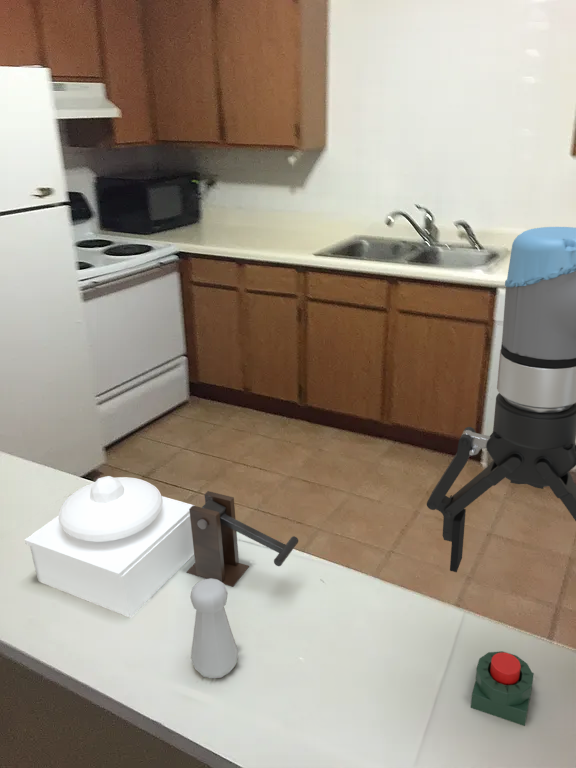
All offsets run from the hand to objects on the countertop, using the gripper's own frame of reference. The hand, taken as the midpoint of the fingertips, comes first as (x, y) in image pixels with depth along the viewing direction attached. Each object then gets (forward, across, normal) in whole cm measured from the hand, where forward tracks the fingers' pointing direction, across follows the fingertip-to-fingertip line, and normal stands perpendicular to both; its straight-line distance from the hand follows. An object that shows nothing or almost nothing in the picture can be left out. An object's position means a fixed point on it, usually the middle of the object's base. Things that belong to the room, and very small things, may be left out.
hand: (516, 579), depth 71 cm
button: (+14, 0, 0) cm, 14 cm away
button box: (+17, 0, 0) cm, 17 cm away
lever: (+9, +37, -5) cm, 38 cm away
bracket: (+17, +42, -6) cm, 46 cm away
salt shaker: (+17, +33, +10) cm, 39 cm away
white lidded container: (+17, +56, -1) cm, 59 cm away
